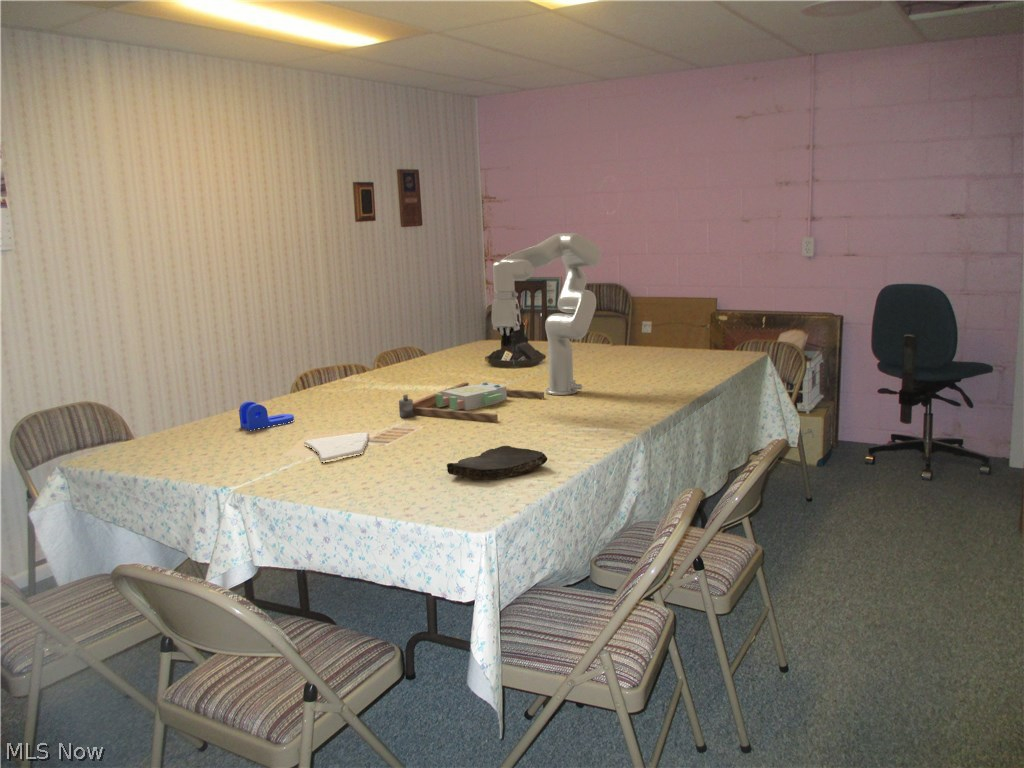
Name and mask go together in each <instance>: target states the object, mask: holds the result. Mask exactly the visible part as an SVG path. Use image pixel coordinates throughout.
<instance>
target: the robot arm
mask: <svg viewBox="0 0 1024 768" xmlns="http://www.w3.org/2000/svg"><path fill="white" fill-rule="evenodd" d="M559 258H561V260H562V263H563V265H564V268H565V279H564V283H563V285H562V287H561V291H560V292H559V293H560V294H559V296H558V300H557V308H558V310H559V311H560V312H563V313H560V312H559V313H558V312H557V313H552V314H550V315H549V316H548V317H546V320H545V322H544V323H545V324H544V325H545V326H544V328H545V333H546V338H547V344H548V345H547V346H548V376H549V377H548V378H549V379H548V381H549V382H548V383H549V387H547V388H546V389H545V393H546V394H548V395H551V394H552V396H567V395H573V394H576V393H577V392H578V390H581V391H582V389H583V384H582V383H577V382H576V380H575V379H574V364H573V363H574V362H573V361H574V359H573V345H572V343H571V341H570V339H571V340H581V339H583V338H584V337H585V336H586V335H587V333H588V330H589V328H590V325H591V322H592V319H593V318H594V315H595V311H596V309H597V297H596V295H595V293H594V292H593V291H591V290H589V289H586V285H587V282H588V281H587V275H586V273H585V271H584V269H583V267H587V268H588V267H595V266H597V265H599V263H600V262H601V259H602V252H601V249H600V247H599V246H598V245H596V244H595V243H594V242H593V241H590V240H589V239H588V238H586V237H585V236H583V235H581V234H579V233H576V232H572V233H571V232H567V233H566V232H565V233H564V232H561V233H560V232H559V233H555V234H554V235H551V236H549V237H548V238H547V239H544V240H543V241H541V242H540V243H538V244H536V245H533V246H530V247H527V248H525V249H520V250H518V251H516V252H513V253H511V254H509V255H507V256H505V257H504V258H502V259H501V260H500V261H497V262H494V263H493V265H492V274H493V275H492V277H493V279H492V280H493V294H494V295H493V296H494V297H493V298H494V299H493V300H492V303H491V304H492V305H491V325H492V329H493V330H495V331H497V332H498V333H499V334H500V335H501V343H502V346H503V347H509V346H511V345H512V335H513V333H514V332H515V331H519V330H520V329H521V327H520V326H521V323H522V319H521V309H520V305H519V301H518V299H517V298H516V297H519V293H518V292H516V290H515V288H516V287H515V281H525V280H526V281H527V280H529V279H530V278H531V277H532V276H533V274H534V269H537V268H543V267H545V266H548V265H549V264H551V263H553V262H554V261H556V260H558V259H559Z"/></svg>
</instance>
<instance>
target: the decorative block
mask: <svg viewBox="0 0 1024 768" xmlns="http://www.w3.org/2000/svg"><path fill="white" fill-rule="evenodd" d="M506 389H507V386H506V385H501V384H497V383H490V382H487V381H486V382H485V381H484V382H482V383H478V384H470V385H469V386H465V387H460V388H457V387H454V386H452V389H451V390H446V389H445V390H446V391H443V390H441V391H442V394H440V393H438V392H436V393H437V394H435V393H434V394H435V397H436V406H435V407H438V408H441V407H448V408H449V410H456V411H459V410H461V411H471V410H474V409H479V407H480V408H483V407H487V406H492V405H496V404H498V403H500V402H504V401H508V400H507V399H508V397H507V395H506ZM503 400H504V401H503Z"/></svg>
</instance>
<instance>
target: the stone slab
mask: <svg viewBox="0 0 1024 768" xmlns="http://www.w3.org/2000/svg"><path fill="white" fill-rule="evenodd" d="M547 461H548V457H547V456H546V454H545V453H544V452H542V451H539V450H533V449H529V448H521V447H520V448H519V447H513V446H511V445H501V446H499V447H495V448H489V449H487V450H485V451H483V452H481V454H480V455H476V456H470V457H465V458H461V459H459V460H458V462H454V463H453V462H448V463H447V464H446V468H447V469H446V471H447V473H448V474H449V475H452V476H458V477H460V478H467V479H470V480H480V481H481V480H493V479H502V478H503V479H504V478H508V477H515V476H520V475H522V474H525V473H529V472H531V471H533V470H536V469H538V468H540V467H542V466H543V465H544V464H546V462H547Z"/></svg>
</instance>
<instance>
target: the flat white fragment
mask: <svg viewBox="0 0 1024 768" xmlns="http://www.w3.org/2000/svg"><path fill="white" fill-rule="evenodd" d="M368 437H369V438H370V433H369V432H354V433H347V434H341V435H340V434H339V435H334V436H327V437H321V438H320V437H319V438H312V439H307V440H306V439H305V441H304V444H306V445H308V446H309V447H311V448H313V449H314V450H315V451H316V452H317V453H318V454H319V455H318V454H317V453H316V452H315V453H316V454H317V455H318V458H319V457H320V458H319V459H320V462H321V461H326V460H331V459H335V458H338V457H343V456H349V455H354V454H360V453H362V452H363V451H364V452H365V449H366V448H365V446H366V447H367V445H368V443H367V442H368V441H369V439H368ZM366 444H367V445H366ZM364 448H365V449H364Z"/></svg>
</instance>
